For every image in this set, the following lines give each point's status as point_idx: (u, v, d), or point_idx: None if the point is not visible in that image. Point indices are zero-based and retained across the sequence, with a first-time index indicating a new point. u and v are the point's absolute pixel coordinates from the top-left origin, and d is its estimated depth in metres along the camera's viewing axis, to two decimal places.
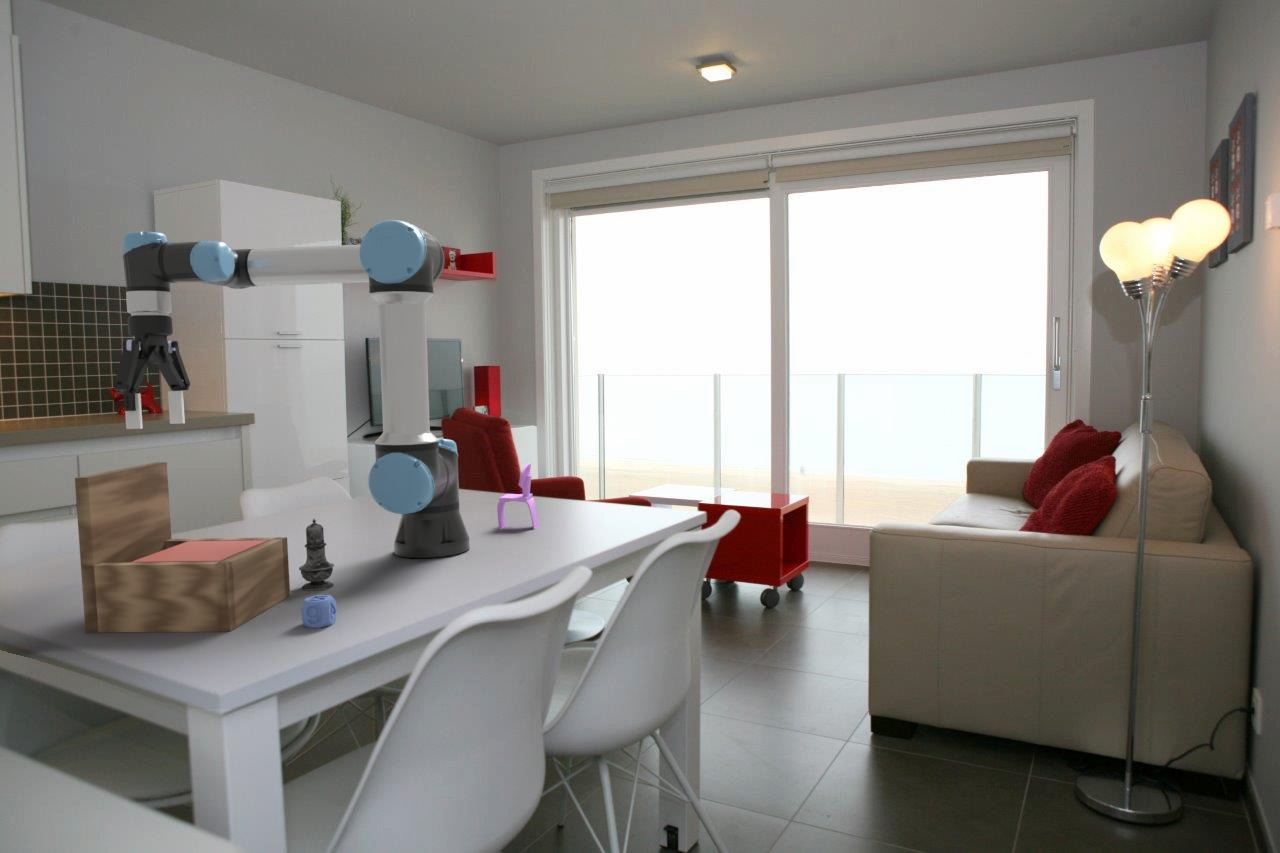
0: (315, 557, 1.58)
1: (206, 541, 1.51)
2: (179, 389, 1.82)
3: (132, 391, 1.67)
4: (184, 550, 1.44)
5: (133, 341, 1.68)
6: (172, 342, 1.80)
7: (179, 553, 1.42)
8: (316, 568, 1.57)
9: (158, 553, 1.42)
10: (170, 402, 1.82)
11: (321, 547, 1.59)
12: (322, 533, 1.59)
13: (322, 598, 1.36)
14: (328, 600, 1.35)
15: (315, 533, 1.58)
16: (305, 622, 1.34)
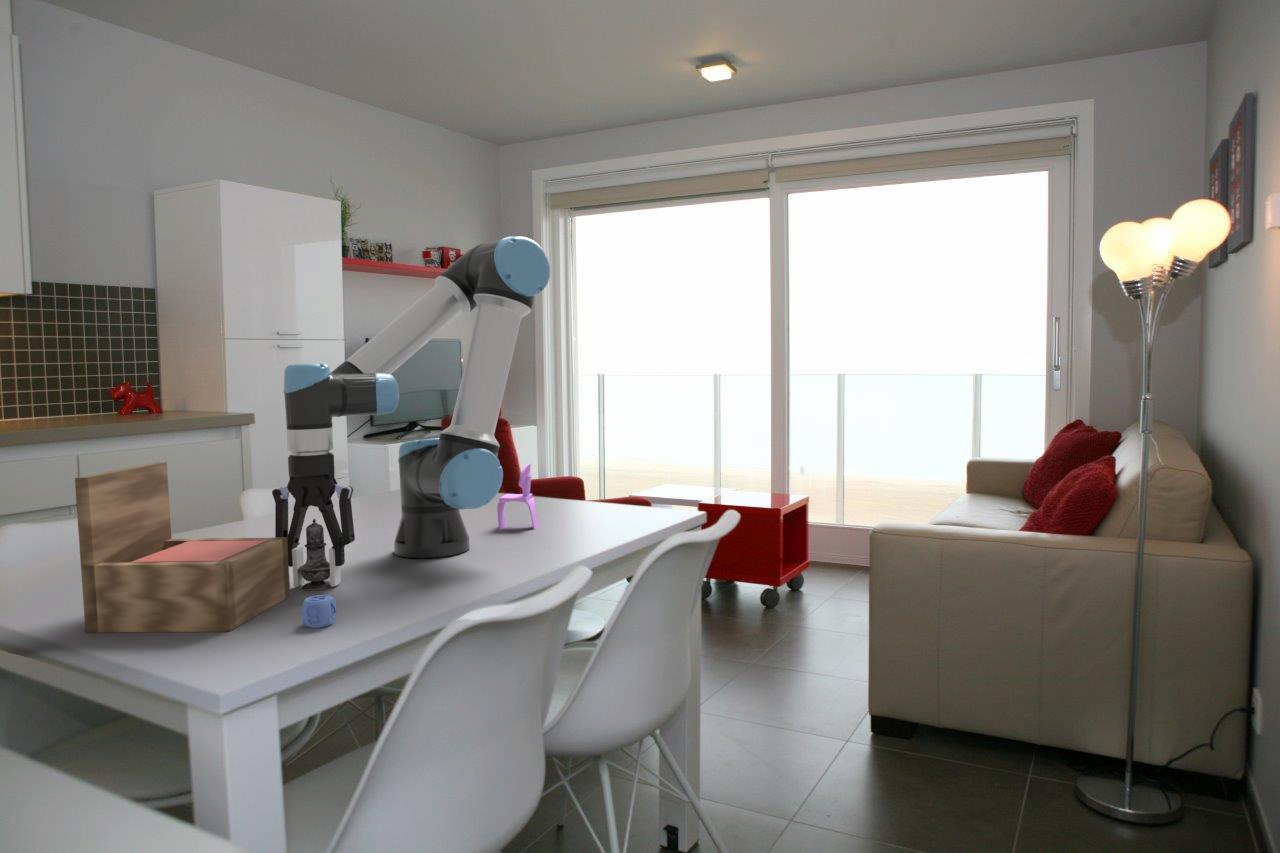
0: (315, 557, 1.58)
1: (206, 541, 1.51)
2: None
3: None
4: (184, 550, 1.44)
5: None
6: None
7: (179, 553, 1.42)
8: (316, 568, 1.57)
9: (158, 553, 1.42)
10: None
11: (321, 547, 1.59)
12: (322, 533, 1.59)
13: (322, 598, 1.36)
14: (328, 600, 1.35)
15: (315, 533, 1.58)
16: (305, 622, 1.34)
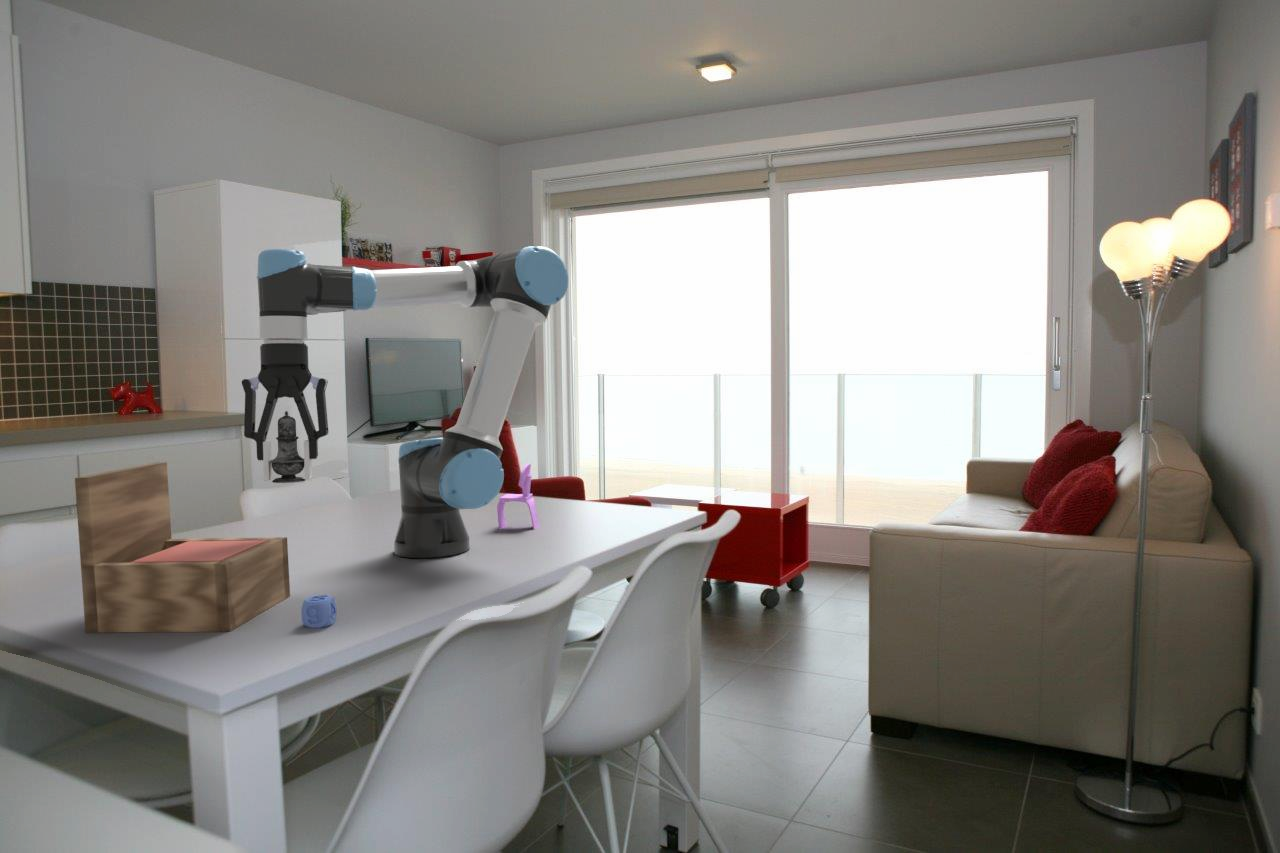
0: (288, 449, 1.54)
1: (206, 541, 1.51)
2: (308, 437, 1.55)
3: (257, 440, 1.53)
4: (184, 550, 1.44)
5: None
6: (320, 379, 1.55)
7: (179, 553, 1.42)
8: (291, 460, 1.53)
9: (158, 553, 1.42)
10: None
11: (295, 439, 1.55)
12: (295, 425, 1.55)
13: (322, 598, 1.36)
14: (328, 600, 1.35)
15: (289, 425, 1.54)
16: (305, 622, 1.34)
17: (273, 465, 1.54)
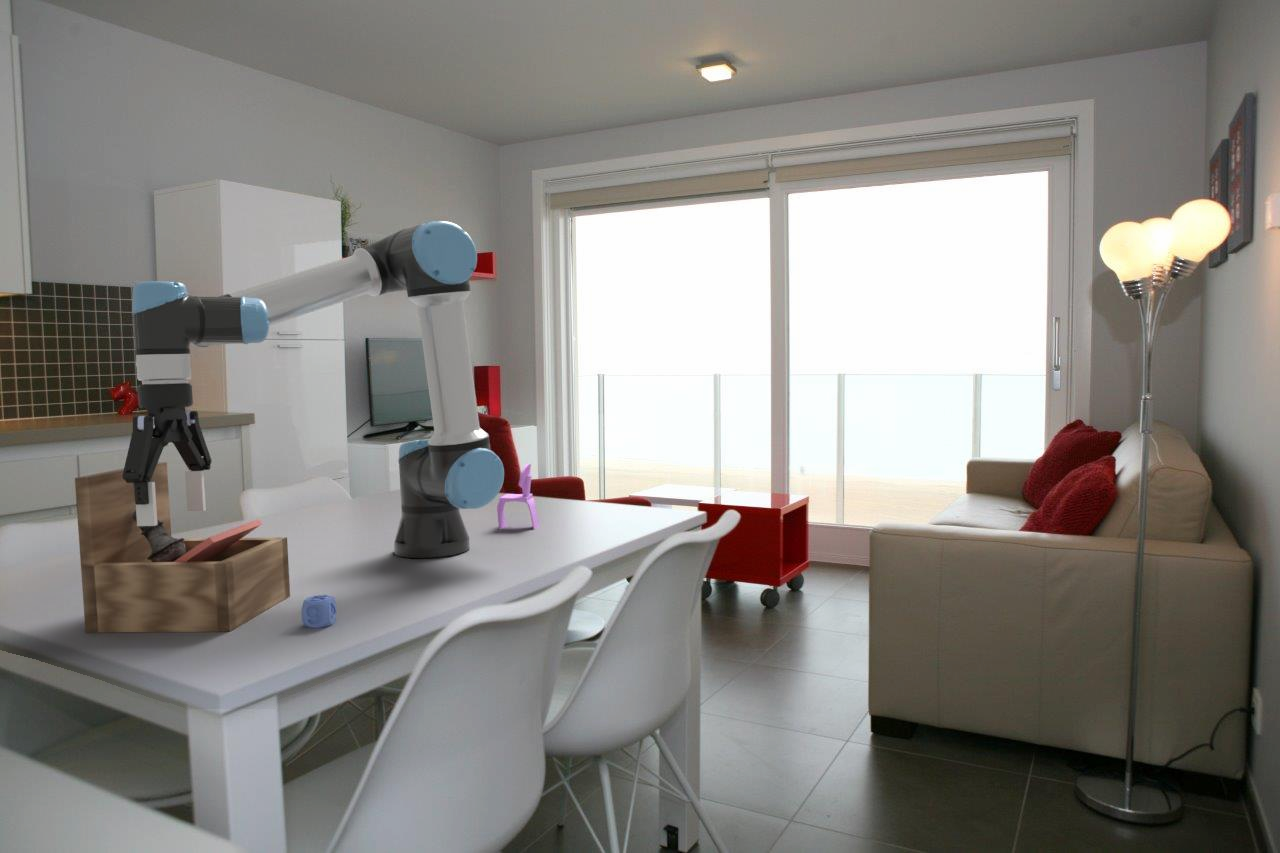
0: None
1: None
2: (199, 469, 1.50)
3: (145, 480, 1.35)
4: None
5: (146, 418, 1.35)
6: (191, 413, 1.48)
7: None
8: None
9: None
10: (188, 485, 1.49)
11: None
12: None
13: (322, 598, 1.36)
14: (328, 600, 1.35)
15: None
16: (305, 622, 1.34)
17: (168, 549, 1.42)
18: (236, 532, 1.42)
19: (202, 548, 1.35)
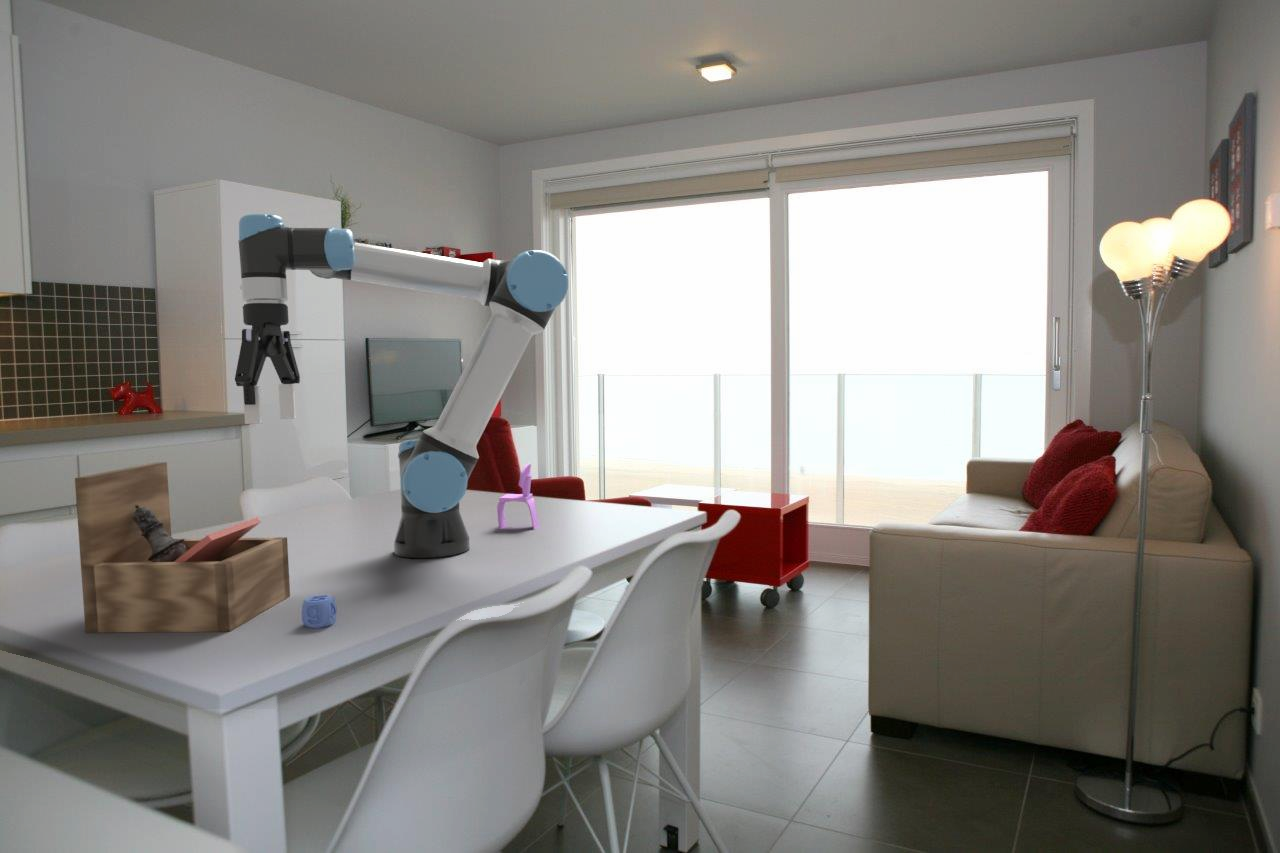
0: (167, 533, 1.44)
1: None
2: (290, 382, 1.72)
3: (253, 384, 1.57)
4: None
5: (253, 330, 1.57)
6: (284, 332, 1.70)
7: None
8: None
9: None
10: (281, 396, 1.72)
11: None
12: None
13: (322, 598, 1.36)
14: (328, 600, 1.35)
15: None
16: (305, 622, 1.34)
17: (168, 550, 1.42)
18: (235, 530, 1.42)
19: (201, 546, 1.35)
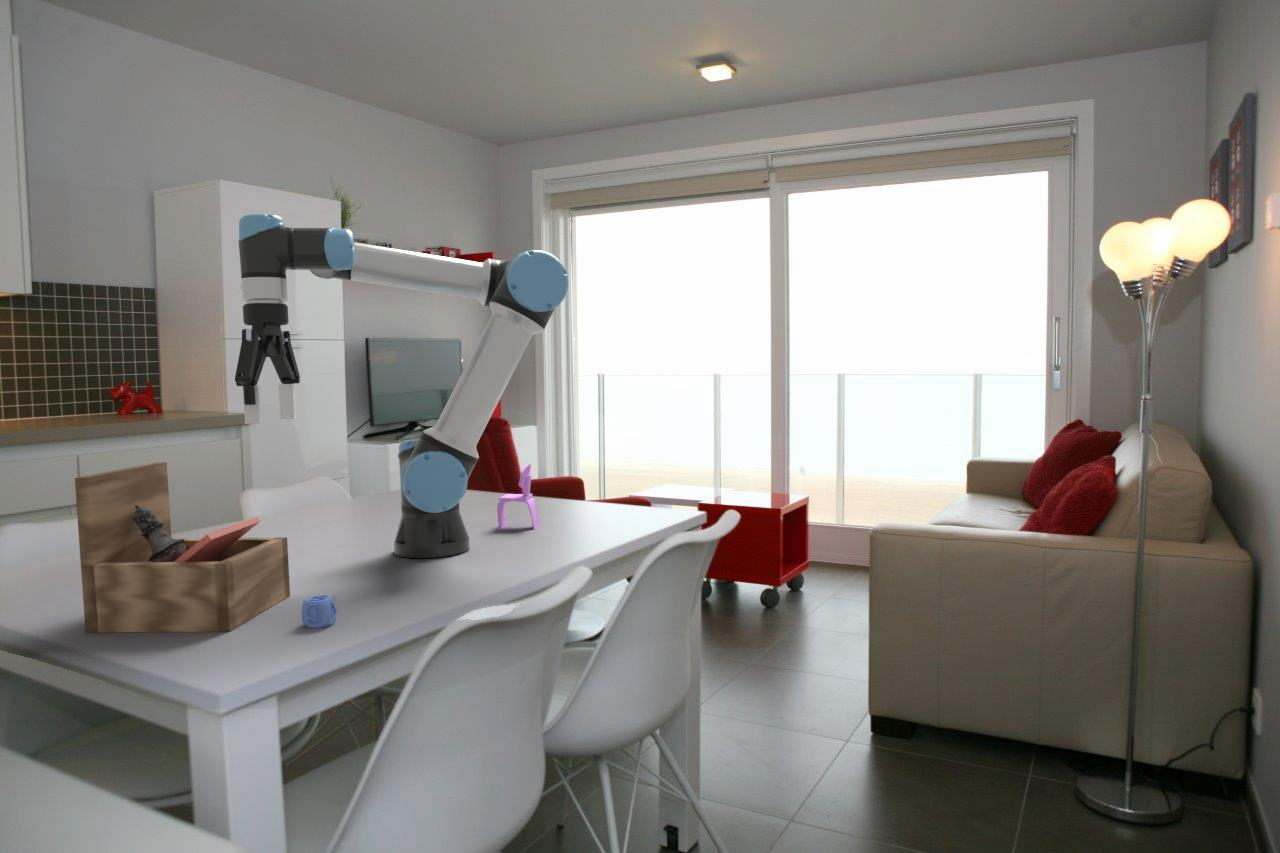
0: (167, 534, 1.44)
1: None
2: (290, 382, 1.72)
3: (253, 384, 1.57)
4: None
5: (253, 330, 1.57)
6: (284, 332, 1.70)
7: None
8: None
9: None
10: (281, 396, 1.72)
11: None
12: None
13: (322, 598, 1.36)
14: (328, 600, 1.35)
15: None
16: (305, 622, 1.34)
17: (168, 550, 1.42)
18: (234, 529, 1.42)
19: (201, 546, 1.35)
